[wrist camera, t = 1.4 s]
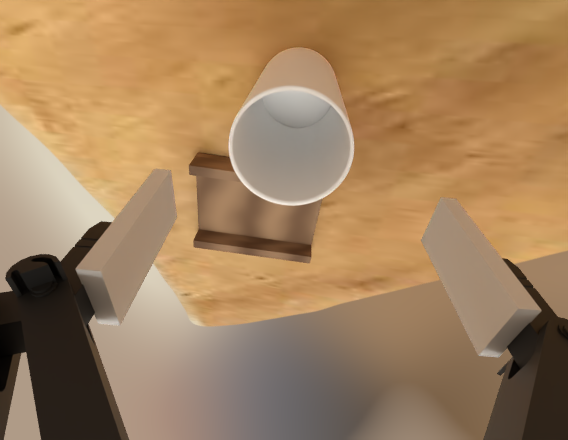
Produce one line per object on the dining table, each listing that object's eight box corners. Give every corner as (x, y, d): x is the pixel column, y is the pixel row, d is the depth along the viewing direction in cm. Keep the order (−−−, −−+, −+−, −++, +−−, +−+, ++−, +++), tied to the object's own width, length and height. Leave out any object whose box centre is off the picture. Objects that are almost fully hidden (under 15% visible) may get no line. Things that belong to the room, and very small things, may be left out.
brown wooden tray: (327, 171, 39) (328, 185, 36) (309, 246, 46) (309, 263, 43) (197, 152, 38) (189, 165, 35) (201, 231, 46) (193, 247, 43)
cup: (251, 55, 32) (211, 99, 19) (333, 39, 30) (351, 74, 17) (268, 133, 36) (245, 211, 23) (339, 122, 35) (357, 199, 22)
